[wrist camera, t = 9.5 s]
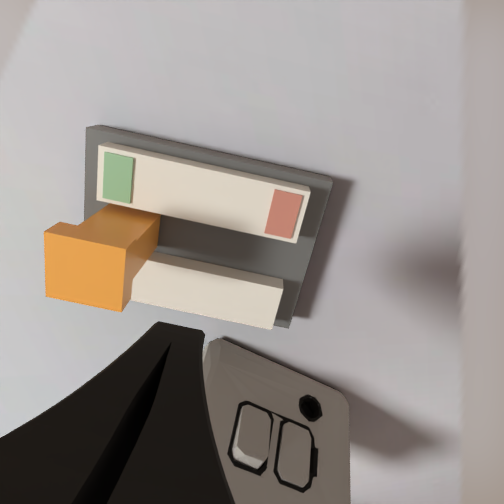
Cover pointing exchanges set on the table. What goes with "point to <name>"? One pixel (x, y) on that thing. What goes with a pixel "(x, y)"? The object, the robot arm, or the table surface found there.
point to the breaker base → (211, 224)
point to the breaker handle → (99, 256)
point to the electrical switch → (276, 430)
